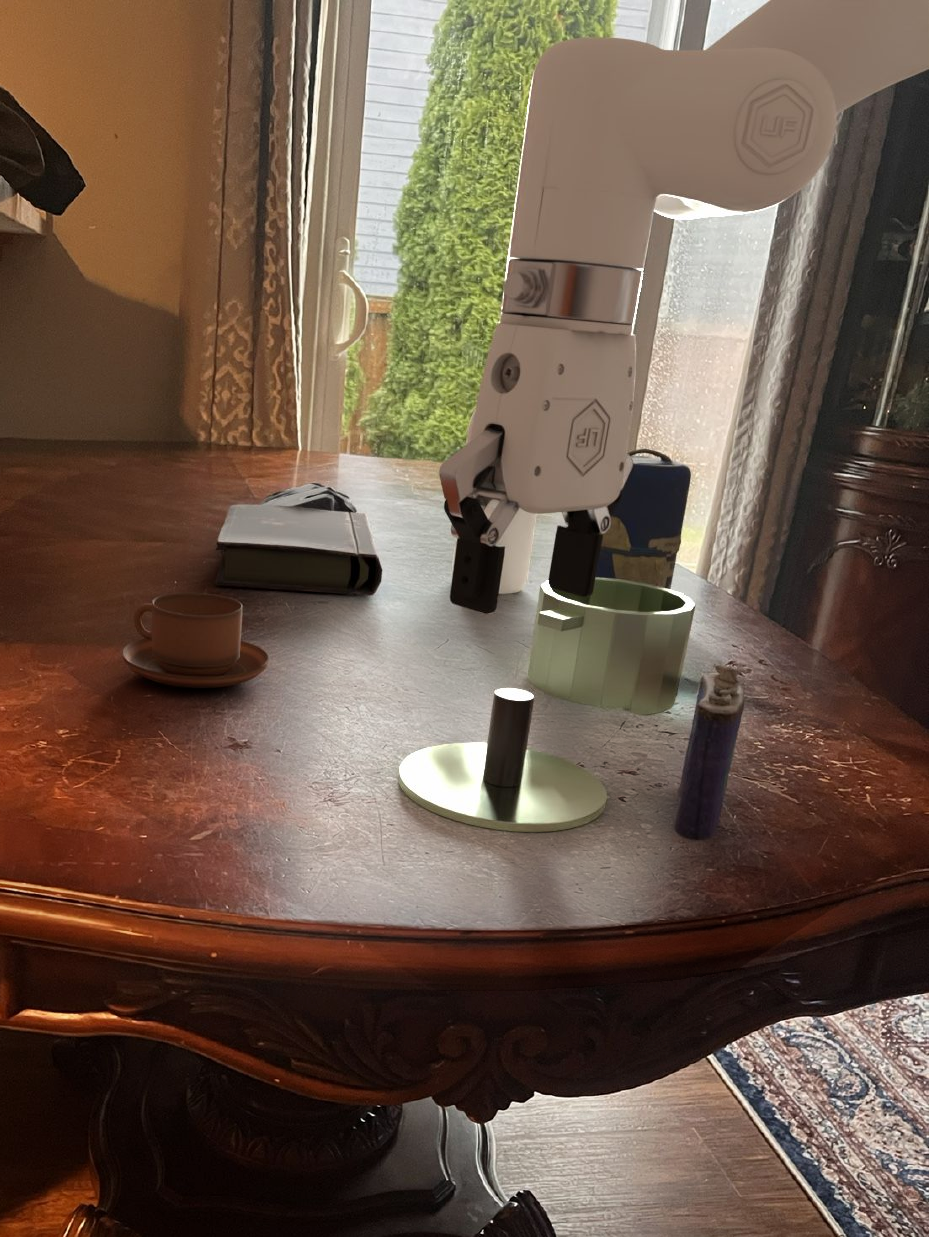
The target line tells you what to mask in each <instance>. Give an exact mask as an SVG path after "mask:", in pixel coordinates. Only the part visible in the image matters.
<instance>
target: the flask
mask: <svg viewBox="0 0 929 1237" xmlns="http://www.w3.org/2000/svg"><path fill="white" fill-rule="evenodd" d="M712 668H715V671H716V672H704V673H703V674H702V676H701V677H700V681H699V683H698V690H697V691H698V692H697V697H696V702H695V707H694V713H693V718H692V722H691V729H690V732H689V739H688V744H687V748H686V751H685V756H684V762H683V767H682V771H681V777H680V782H679V786H678V788H677V796H678V797H679V804H678V808H677V813H676V818H675V822H674V831H675V833H676V834H678V835H679V836H681V837H682V838H685V839H687V840H689V841H690V840H691V841H698V842H699V841H700V842H703V841H709V840H711V839H713V838H714V836H715V835H716V832H717V830H718V828H719V824H720V817H721V814H722V809H723V804H724V798H725V794H726V789H727V786H728V779H729V775H730V771H731V766H732V761H733V758H734V752H735V749H736V748H735V747H736V744H737V739H738V736H739V735H738V734H739V729H740V725H741V722H742V716H743V712H744V709H745V701H746V697H745V693H744V690H743V688H742V686H741V684H740V681H739V680H738V679H737V677H738V676H739V674H740V673H743V674H745V675H746V674H748V668H745V667H743V666H737V667H736V666H732V665H731V664H725V665H723V664H722V663H720V662H717V663H713V667H712Z"/></svg>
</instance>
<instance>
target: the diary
mask: <svg viewBox="0 0 929 1237" xmlns="http://www.w3.org/2000/svg"><path fill="white" fill-rule="evenodd" d="M376 545H377V544H376V542H375V539H374V535H373V532H372V527H371V523H370V520H369V517H368V515H367V514H366V512H365V513H364V512H356V513H353V512H351V513H348V512H339V511H327V510H319V509H311V508H303V507H292V506H278V505H261V504H243V503H241V504H238V503H237V504H232V505H230V506H229V508H228V511H227V513H226V516H225V519H224V522H223V525H222V527H221V529H220V532H219V534H218V537H217V540H216V548H215V551H223V554H222V556H221V562H220V565H219V571H218V574H217V576H216V580H215V582H214V583H215V586H223V587H224V586H225V587H226V586H227V587H241V588H252V589H253V588H255V589H256V588H257V589H269V590H284V591H285V590H286V591H299V592H312V593H313V592H314V593H315V592H316V593H331V594H345V595H354V594H355V595H359V596H360V595H361V596H374V595H375V594H376V592H377V591H378V588H379V587H380V585H381V583H382V579H383V568H382V564H381V561H380V558H379V555H378V549H377V546H376Z"/></svg>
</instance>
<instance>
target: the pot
mask: <svg viewBox="0 0 929 1237" xmlns="http://www.w3.org/2000/svg"><path fill="white" fill-rule="evenodd" d="M538 592H539V593H538V599H537V606H536V612H535V613H536V614H535V618H534V619H535V620H534V626H533V634H532V639H531V647H530V654H529V660H528V668H527V674H526V675H527V678H528V680H529V683H530V684H531V685H533V686H534V687H536V688H537V689H539V690H541V691H542V692H543V693H545V694H548V695H551V696H554V697H556V698H559V699H562V700H566V701H567V702H571V703H577V704H581V705H587V706H592V707H596V708H604V709H616V710H623V711H626V712H629V713H632V714H635V715H638V716H646V715H654V714H658V713H662V712H663V713H664V712H665V711H667V710H669V709H672V708H673V706H675V703H676V698H677V697H678V694H679V689H680V684H681V679H682V675H683V669H684V664H685V660H686V655H687V649H688V644H689V639H690V635H691V631H692V630H691V629H692V624H693V620H694V616H695V610H696V603H695V602H694V601H693V600H692V599H691V598H690V597H689V596H686V594H685V593H684V592H680V591H675V590H672V589H666V588H662V587H658V586H654V585H650V584H646V583H641V582H634V581H628V580H622V579H612V578H600V577H596V578H595V583H594V589H593V593H592V595H590V596H586V597H581V596H578V595H574V594H571V593H567V592H564V591H560V590H557V589H553V588H551V587H550V586H549V584H548V579H547V580H546V581H545V582H543V583H542V584H540V586H539V591H538Z"/></svg>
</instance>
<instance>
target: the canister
mask: <svg viewBox="0 0 929 1237" xmlns="http://www.w3.org/2000/svg"><path fill="white" fill-rule="evenodd" d="M627 453H628V454H629V455H630V456H631V458H632V459H633V467H632V469H631V471H630V474H629V476H628V478H627V480H626V482H625V485H624V487H623V489H622V490H621V500H620V502H619V504H618V505H617V506H616V508H615V509H614V511H613V512H612V514H611V515H610V517H611V524H610V527H609V529H608V531H607V532H606V533H604V534H602V533H599V534H602V535H603V539H602V545H601V550H600V556H599V561H598V567H597V572H596V577H600V578H612V579H622V580H628V581H634V582H641V583H646V584H650V585H654V586H658V587H662V588H666V589H670V590H672V584H673V577H674V574H675V573H674V572H675V567H676V561H677V555H678V553H679V551H680V547H681V544H682V531H683V525H684V520H685V519H684V518H685V515H686V509H687V505H688V504H687V503H688V498H689V491H690V487H691V486H690V485H691V479H692V472H691V469H690V467H689V466H688V465H687V464H685V463H683V462H680V461H677V460H674V459H672V458H670V457H669V456H668V455H666V454H664V453H662V452H660V451H657V450H653V449H649V448H640V449H635V450H632V451H627ZM638 454H648V455H652V456H646V455H645V456H644V455H638Z"/></svg>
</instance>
